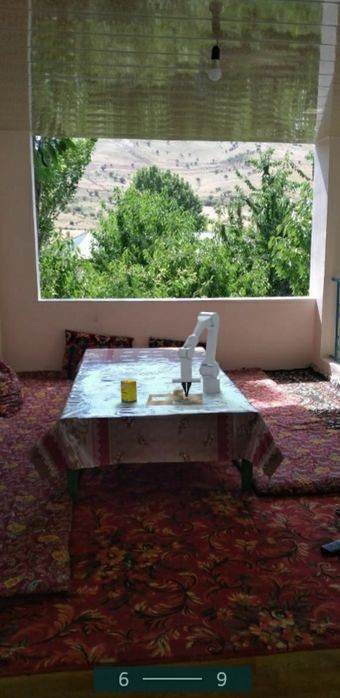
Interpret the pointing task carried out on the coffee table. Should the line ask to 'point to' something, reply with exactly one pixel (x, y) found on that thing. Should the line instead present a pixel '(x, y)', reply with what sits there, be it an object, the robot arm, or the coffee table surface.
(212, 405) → the coffee table surface
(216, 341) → the robot arm
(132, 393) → the supplement box
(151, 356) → the coffee table surface
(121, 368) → the coffee table surface
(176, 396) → the block
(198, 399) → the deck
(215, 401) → the coffee table surface
